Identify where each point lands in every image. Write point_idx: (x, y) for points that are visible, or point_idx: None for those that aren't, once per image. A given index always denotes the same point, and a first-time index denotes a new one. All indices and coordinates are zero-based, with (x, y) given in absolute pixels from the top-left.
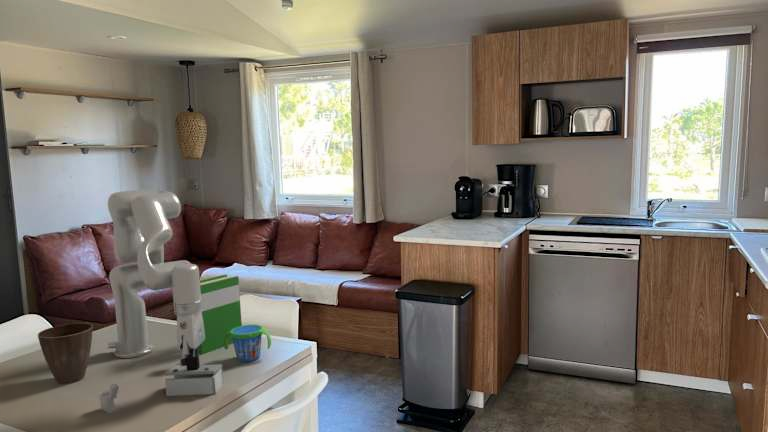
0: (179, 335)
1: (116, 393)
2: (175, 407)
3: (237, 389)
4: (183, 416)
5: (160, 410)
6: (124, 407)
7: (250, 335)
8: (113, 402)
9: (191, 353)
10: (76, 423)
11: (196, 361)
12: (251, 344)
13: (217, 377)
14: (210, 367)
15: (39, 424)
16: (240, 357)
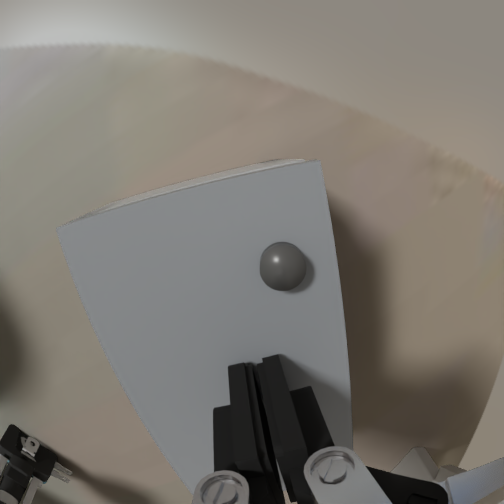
0: None
1: (454, 471)
2: (428, 285)
3: (193, 58)
4: (489, 201)
5: (444, 326)
6: (401, 441)
7: None
8: (426, 463)
9: (411, 488)
10: (459, 453)
11: (293, 409)
12: None
13: (215, 177)
14: (180, 277)
15: None
16: None
